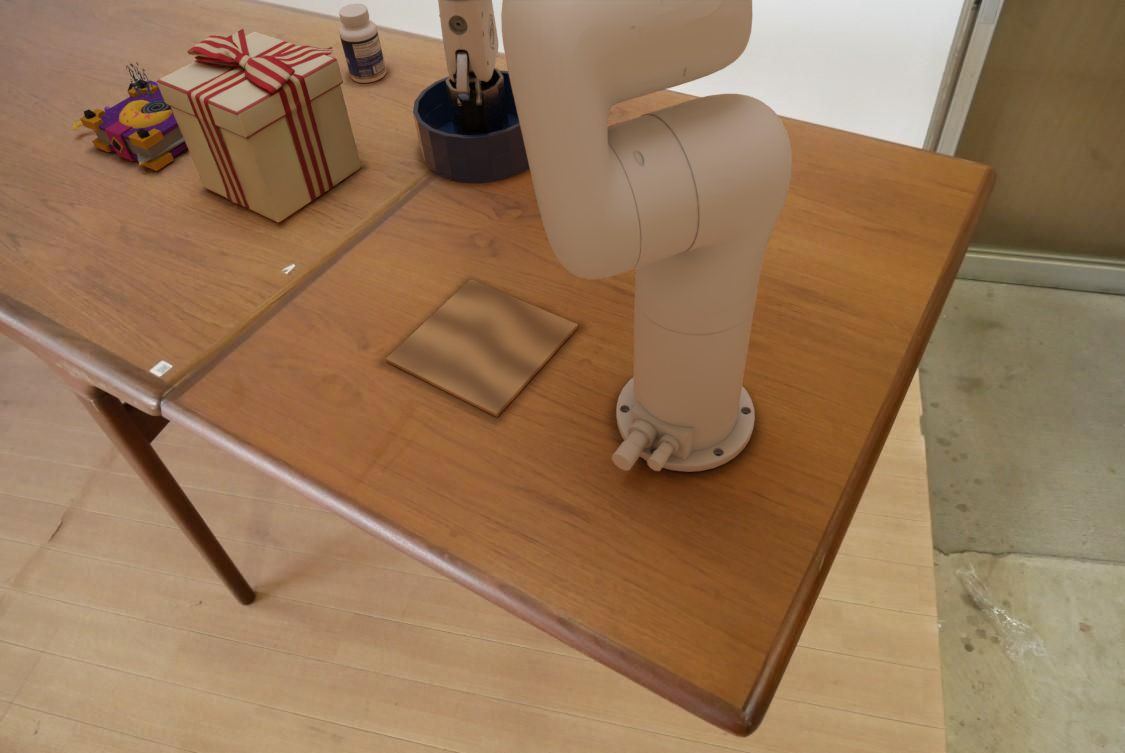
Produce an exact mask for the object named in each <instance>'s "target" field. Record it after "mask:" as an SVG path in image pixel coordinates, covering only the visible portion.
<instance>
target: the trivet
mask: <svg viewBox="0 0 1125 753" xmlns="http://www.w3.org/2000/svg"><path fill="white" fill-rule="evenodd" d="M578 328H579V325H578V323H576V322H573V321H571V320H569V319H567V318H565V317H562V316H559V315H557V314H554V313H553V312H549V310H548V311H547V310H545V309H543V308H541V307H538V306H536V305H533V304H531V303H528V302H527V301H524V300H522V299H520V298H517V297H515V296H512V295H510V294H508V293H506V292H504V291H501V290H498V289H495V288H493V287H491V286H490V285H489V286H488V285H486V284H484V283H483V282H479V281H477V280H474V279H472V278H470V279H469V280H468V281H467V282H466V283H464V284H463V285H462V286H461V287H460V288H459V289H458V290H457V291H456V292H454V294H453V295H452V296H451V297H449V299H447V301H445V302H444V303H443V304H442V305H441V306H440V307H439V308H438V309H437V310H436V311H435V312H434V313H432V314H431V316H429V318H427V319H426V320H425V321H424V322H423V323H422V324H421V325H420V326H419V327H418V328H416V329H415V330H414V331H413V333H411V334H410V335H409V336H408V337H407V338H406V339H405V340H404V341H403V342H401V344H400V345H399V346H397V348H395V349H394V350H393V351H392V352H391V353H390V354H389V355H388V356H387V357H386V358H385V361H386V363H388V364H389V365H391V366H393V367H395V368H398V369H400V370H402V371H404V372H406V373H408V374H410V375H412V376H414V377H416V378H418V379H420V380H422V381H424V382H426V383H428V384H430V385H432V386H433V387H436V388H438V389H439V390H442V391H444V392H446V393H448V394H450V395H452V396H454V397H455V398H458V399H459V400H462V401H463V402H466V403H468V404H470V405H472V406H473V407H475V408H478V409H480V410H482V411H484V412H486V413H487V414H489V415H492V416H494V417H495V418H498V417H499V416H500V415H501V414H502V413H503V412H504V410H505V409H506V408H507V407H508V406H509V405H510V404H511V402H512V401H513V400H514V399H515V398H516V397H517V396H518V395H519V394H520V393H521V392H522V391H523V389H525V387H526V386H527V385H528V384H529V382H531V381H532V379H534V377H535V376H536V375H537V374H538V372H539V371H541V369H542V368H544V366H545V365H546V364H547V362H548V361H550V359H551V358H552V357H553V356H554V355H555V354H556V353H557V351H559V349H560V348H561V347H562V346H563V345H564V344H565V343H566V341H567V340H568V339H569V338H570V337H571V336H572V335H573V334H574V332H576V330H577V329H578Z"/></svg>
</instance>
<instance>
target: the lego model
mask: <svg viewBox="0 0 1125 753" xmlns="http://www.w3.org/2000/svg"><path fill="white" fill-rule="evenodd" d="M135 63H136V65H137V66H138V67H137V66H135V65H134V64H133V63H130V62H129V65H126V66H125V68H126V69H128V72H129V75H130V78H129V80H130V83H129V86H128V88H127V94H128V97H127V98H125V99H123V100H122V101H120V102H118V103H116V104H115V105H113V106H111V107H110V106H106V105H105V106H104V107H103V109H100V108H95V109H94V110H91V109H90V108H88V109H86V110H84V111H83V115H84V116H81V117H80V118H79V120H80V121H76V122H75V123H74V124H72V127H71V129H72V130H74V131H77V130H78V128H80V127H82V126H83V127H84V128H87V129H90V130H92V131H94V132H93V135H94V136H96V138H94V139H93V140H92V144H93V146H94V148H96V149H99V150H101V151H104V152H107V153H110V152H115V153H116V154H117V157H121V158H123V159H126V160H128V161H131V162H135V161H137V162H138V165H139V166H140V167H141V166H143V167H145V168H148V169H150V170H153V171H155V172H158V171H159V170H161V169H162V168H164V167H165V166H167V165H169V164H170V163H172V162H173V161H174V157H176V156H177V155H178V154H180V153H182V152H183V151H185V150H186V149H188V147H187V145H186V142H185V140H184V138H183V135H182V133H181V130H180V128H179V126H178V123H177V121H176V119H175V116H174V114H173V111H172V109H171V107H170V106H168V105H166V103H165V101H164V99H163V96H162V94H161V91H160V89H159V87H158V84H157V81H153V80H149V77H148V76H147V74H146V70H145V68H142V72H141V71H140V70H139V69H138V68H139V63H138V61H136V62H135ZM130 67H131V68H133V70H132V69H131V68H130ZM134 72H135V73H134ZM142 74H143V75H142ZM135 75H136V76H135ZM139 76H140V77H139ZM136 77H138V78H136Z"/></svg>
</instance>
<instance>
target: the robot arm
mask: <svg viewBox="0 0 1125 753" xmlns="http://www.w3.org/2000/svg"><path fill="white" fill-rule="evenodd" d="M437 4H438V12H439V14H438V16H439V20H440V28H441V36H442V42H443V50H444V57H445V63H446V69H447V73H448V76H449V77H450V79H451V80H452V81H453V82H457V83H456V90H457V99H458V108H459V114H460V121H461V127H462V131H463V132H464V133H486V132H487V131H488V123H487V115H486V108H485V101H482V94H481V81H485V82H488V81H489V80H490V79H491V77H492V74H493V70H494V68H495V66H496V62H497V59H498V58H497V57H498V52H499V37H498V31H497V24H496V18H495V11H494V4H493V0H437ZM500 16H501V17H500V18H501V19H500V20H501V36H502V46H503V51H504V57H505V62H506V67H507V68H506V69H507V71H508V73H509V78H510V82H511V87H512V91H513V96H514V100H515V105H516V109H517V114H518V118H519V123H520V127H521V131H522V136H523V140H524V145H525V149H526V154H527V158H528V163H529V167H530V168H529V172H530V176H531V180H532V181H531V182H532V185H533V190H534V195H535V198H536V203H537V206H538V211H539V215H540V220H541V222H542V226H543V229H544V232H545V236H546V239H547V240H548V243H549V245H550V248H551V250H552V252H553V254H554V256H555V258H556V259H557V261H558V262H559V263H560V265H561V266H562V267H563V268H564V269H565V270H566V271H567V272H568V273H569V274H571V275H572V276H575V277H576V278H580V279H583V280H592V281H593V280H603V279H607V278H610V277H614V276H618V275H621V274H624V273H627V272H630V271H633V270H634V271H635V274H634V296H633V297H634V298H633V299H634V303H633V304H634V306H633V307H634V308H633V311H634V312H633V313H634V314H633V320H634V321H633V377H631V378H630V379H628V381H627V382H626V384H624V386H623V387H622V389H621V390H620V393H619V395H618V397H617V403H616V408H615V409H616V410H615V418H616V425H617V429H618V431H619V432H618V433H619V434H620V436H621V438H622V440H623V441H622V442H621V444H620V445H619V446H618V447H617V449H616V450H615V451H614V453H613V454H612V455H611V461H612V462H613V464H614V465H615V466H616V467H617V468H619V469H620V470H622V471H626V472H627V471H630V470H631V469H632V468H633V466H634V465H635V463H636V462H638V460H639V458H641V459H643V460H644V461H646V464H647V466H648V467H649V468H650V469H651V470H653V471H654V472H661V470H662V469H666V470H669V471H676V472H686V473H688V472H689V473H690V472H691V473H692V472H702V471H707V470H711V469H715V468H717V467H720V466H723V465H725V464H727V463H729V462H730V461H731V460H733V459H735V458H736V457H737V456H738V455H739V454H740V453H741V452H742V451H743V450H745V449H746V446H747V445H748V444H749V441H750V440H751V437H752V435H753V431H754V426H755V422H756V416H755V415H756V414H755V413H756V412H755V406H754V403H753V400H752V398H751V395H750V394H749V392H748V391H747V389H746V388H745V387H744V386H743V383H744V378H745V377H744V375H745V372H746V366H747V359H748V358H747V357H748V352H749V345H750V339H751V333H752V327H753V321H754V315H755V307H756V304H757V297H758V290H759V286H760V281H761V280H760V279H761V273H762V269H763V264H764V260H765V256H766V253H767V249H768V246H769V243H770V241H771V237H772V235H773V233H774V231H775V228H776V226H777V224H778V222H779V219H780V217H781V214H782V212H783V209H784V206H785V204H786V201H787V198H788V196H789V190H790V186H791V182H792V177H793V176H792V174H793V150H792V144H791V140H790V136H789V134H788V131H787V128H786V127H785V125H784V123H783V121H782V119H781V118H780V116H779V115H778V114H777V113H776V111H775V110H774V109H773V108H772V107H770V106H769V105H767V104H766V103H765V102H763V101H762V100H760V99H758V98H756V97H754V96H751V95H746V94H742V93H741V94H740V93H720V94H711V95H705V96H701V97H697V98H694V99H690V100H686V101H684V102H683V101H682V102H680V103H677V104H673V105H670V106H667V107H663V108H660V109H657V110H654V111H651V112H646V113H644V114H641V115H640V116H637V117H634V118H630V119H627V120H624V121H620V122H617V123H614V124H611V125H609V116H610V111H611V108H612V107H613V106H615V105H617V104H621V103H624V102H627V101H630V100H634V99H637V98H641V97H644V96H647V95H651V94H655V93H658V92H661V91H665V90H667V89H672V88H674V87H678V86H682V85H685V84H687V83H691V82H694V81H697V80H700V79H702V78H706V77H708V76H710V75H713V74H715V73H717V72H719V71H722V70H724V69H725V68H727V67H728V66H730V65H733V63H735V62H736V61H737V60H738V59H739V58H740V57H741V56H742V55H743V54H744V52H745V50H746V49H747V47H748V44H749V42H750V38H751V33H752V28H753V27H752V26H753V0H502V2H501V13H500ZM469 72H474V73H475V75H476V77H471V78H469ZM469 83H475V93H476V94H475V93H474V91H473V90H470V87H469Z"/></svg>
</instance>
